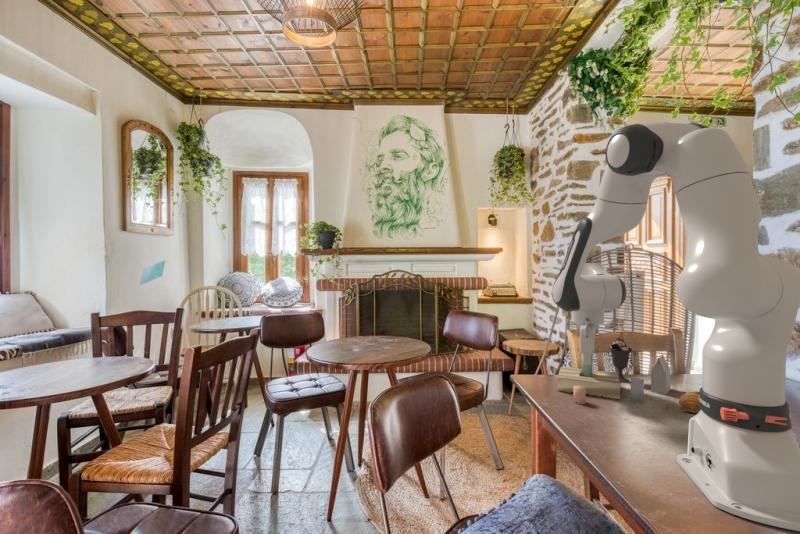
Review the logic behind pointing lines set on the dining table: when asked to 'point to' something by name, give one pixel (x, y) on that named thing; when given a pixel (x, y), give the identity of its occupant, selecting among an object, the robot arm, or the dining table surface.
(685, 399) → the pastry
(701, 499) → the dining table surface
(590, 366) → the long dowel
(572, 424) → the dining table surface
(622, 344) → the sundae
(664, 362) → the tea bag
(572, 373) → the hole block
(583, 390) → the short dowel
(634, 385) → the medium dowel
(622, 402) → the dining table surface
